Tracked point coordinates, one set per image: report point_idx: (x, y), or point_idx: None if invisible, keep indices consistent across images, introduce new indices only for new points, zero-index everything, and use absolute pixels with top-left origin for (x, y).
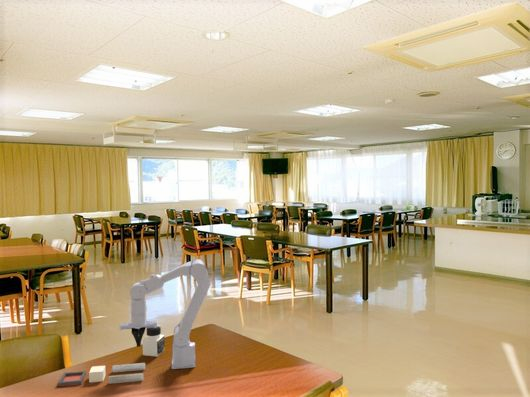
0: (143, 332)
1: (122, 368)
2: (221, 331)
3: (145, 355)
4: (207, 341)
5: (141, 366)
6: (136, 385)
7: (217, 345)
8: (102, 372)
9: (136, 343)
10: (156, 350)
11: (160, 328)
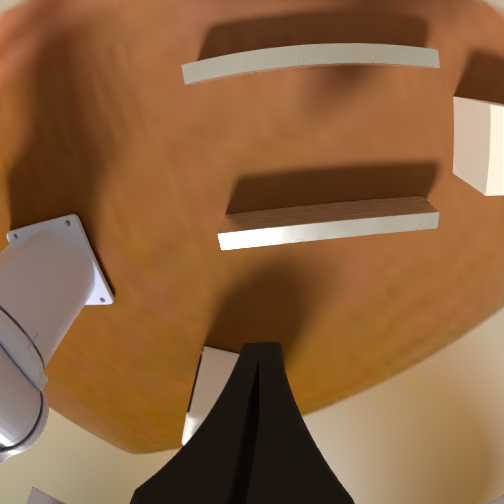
0: (143, 493)
1: (373, 209)
2: (85, 426)
3: None
4: (83, 398)
5: (244, 222)
6: (223, 9)
7: (43, 370)
8: (488, 104)
9: (281, 368)
10: (203, 371)
11: None
